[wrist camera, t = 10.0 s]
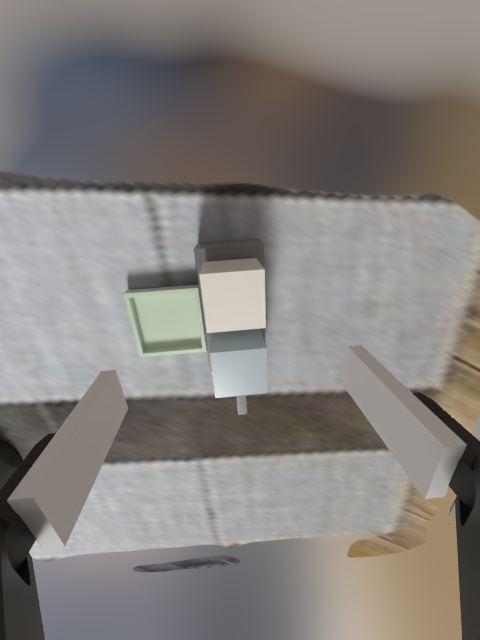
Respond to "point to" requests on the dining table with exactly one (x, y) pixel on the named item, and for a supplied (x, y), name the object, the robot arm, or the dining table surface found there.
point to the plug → (233, 295)
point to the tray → (166, 320)
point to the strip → (226, 255)
